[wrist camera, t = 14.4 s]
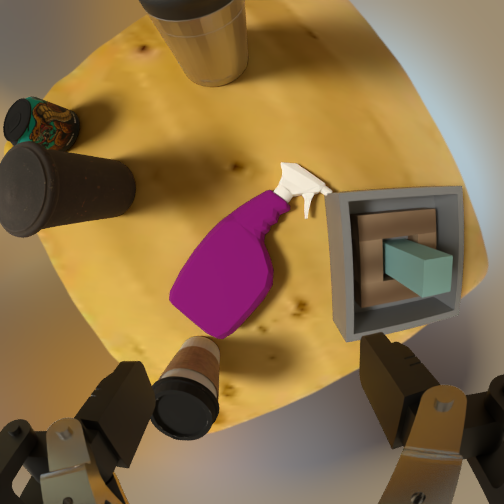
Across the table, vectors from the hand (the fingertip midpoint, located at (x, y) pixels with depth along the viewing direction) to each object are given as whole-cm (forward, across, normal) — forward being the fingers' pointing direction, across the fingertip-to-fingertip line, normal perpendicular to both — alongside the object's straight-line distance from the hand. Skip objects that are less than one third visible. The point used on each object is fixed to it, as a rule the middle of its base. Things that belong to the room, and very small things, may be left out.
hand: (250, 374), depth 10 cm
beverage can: (+30, +27, -22) cm, 45 cm away
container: (+30, +19, -10) cm, 37 cm away
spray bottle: (+29, +1, +1) cm, 29 cm away
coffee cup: (+29, +11, +16) cm, 35 cm away
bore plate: (+29, -19, +4) cm, 35 cm away
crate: (+29, -19, +4) cm, 35 cm away
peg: (+28, -19, +4) cm, 34 cm away
